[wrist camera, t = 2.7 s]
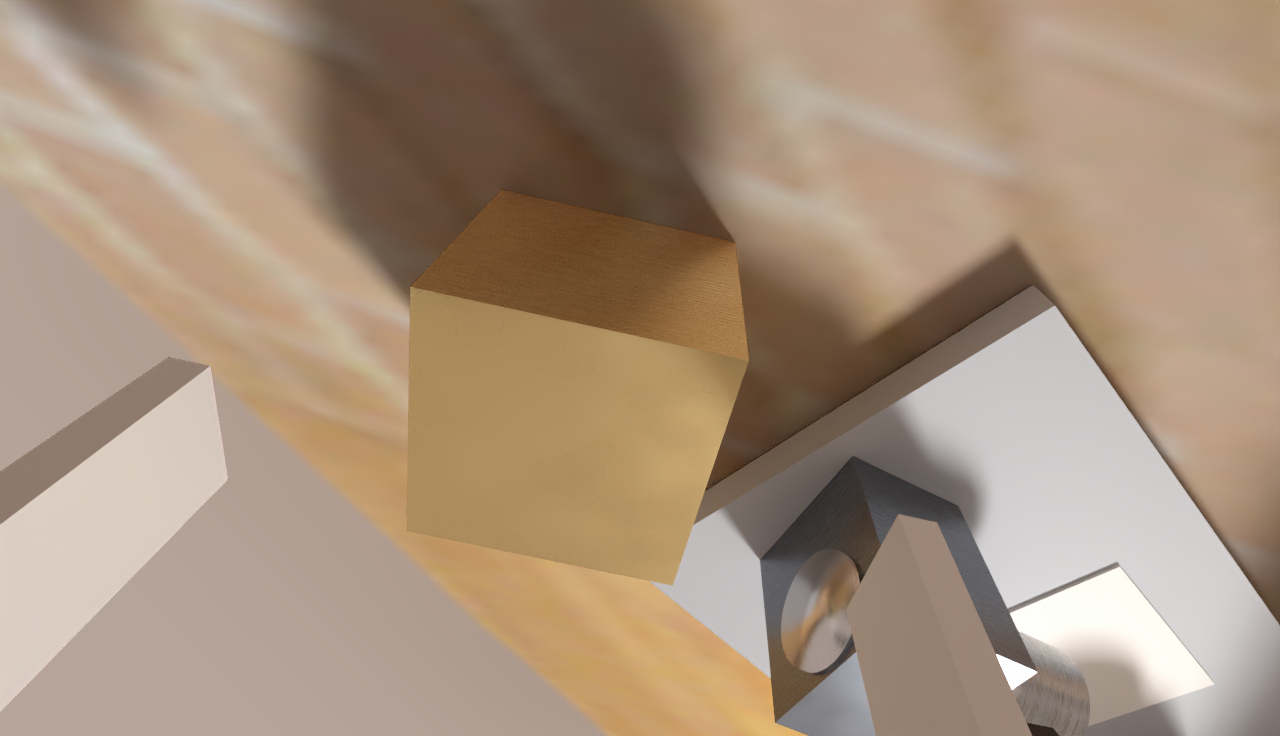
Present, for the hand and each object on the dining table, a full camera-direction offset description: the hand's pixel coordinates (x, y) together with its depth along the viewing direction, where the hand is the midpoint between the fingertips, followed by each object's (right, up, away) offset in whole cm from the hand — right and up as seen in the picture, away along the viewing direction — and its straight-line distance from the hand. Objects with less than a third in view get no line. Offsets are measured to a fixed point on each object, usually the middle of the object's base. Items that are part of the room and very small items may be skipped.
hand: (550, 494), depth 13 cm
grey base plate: (+15, -7, +10) cm, 19 cm away
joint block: (+1, +4, +5) cm, 7 cm away
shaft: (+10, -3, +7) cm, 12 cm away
